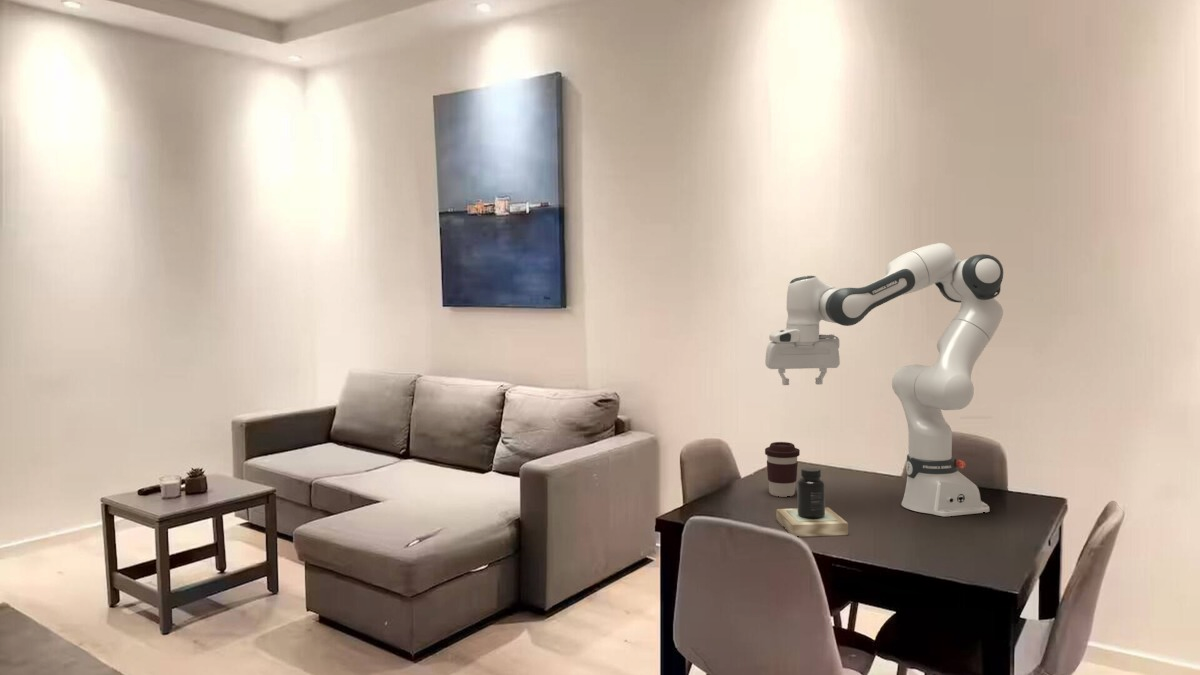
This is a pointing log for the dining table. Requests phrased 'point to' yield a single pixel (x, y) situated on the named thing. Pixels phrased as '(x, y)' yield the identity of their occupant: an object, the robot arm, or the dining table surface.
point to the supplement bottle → (811, 494)
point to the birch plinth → (812, 523)
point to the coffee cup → (782, 468)
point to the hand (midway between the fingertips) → (802, 384)
